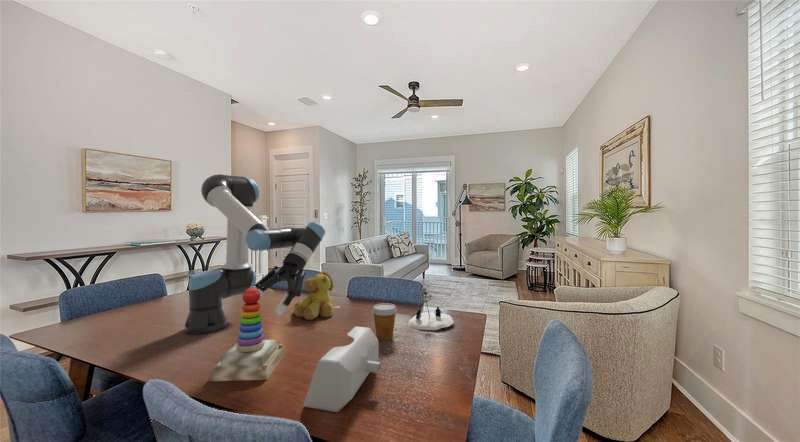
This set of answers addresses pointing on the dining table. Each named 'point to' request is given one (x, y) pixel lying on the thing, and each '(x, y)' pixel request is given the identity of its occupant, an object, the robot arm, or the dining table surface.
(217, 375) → the plinth
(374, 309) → the disposable coffee cup
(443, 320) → the figurine
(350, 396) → the tank
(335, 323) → the dining table surface
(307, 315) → the giraffe plush
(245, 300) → the stacking toy
